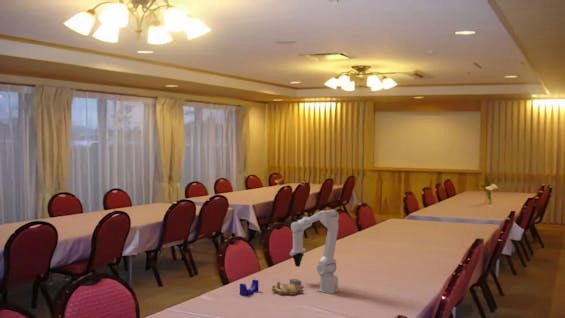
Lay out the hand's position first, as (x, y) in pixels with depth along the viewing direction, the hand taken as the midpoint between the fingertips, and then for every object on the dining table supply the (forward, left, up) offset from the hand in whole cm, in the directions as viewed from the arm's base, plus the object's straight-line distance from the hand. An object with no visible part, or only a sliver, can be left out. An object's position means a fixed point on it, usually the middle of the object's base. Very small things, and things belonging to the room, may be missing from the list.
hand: (297, 266), depth 319 cm
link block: (-3, +7, -10) cm, 12 cm away
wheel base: (-5, +19, -9) cm, 22 cm away
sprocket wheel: (-5, +19, -9) cm, 22 cm away
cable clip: (+10, +32, -10) cm, 35 cm away
